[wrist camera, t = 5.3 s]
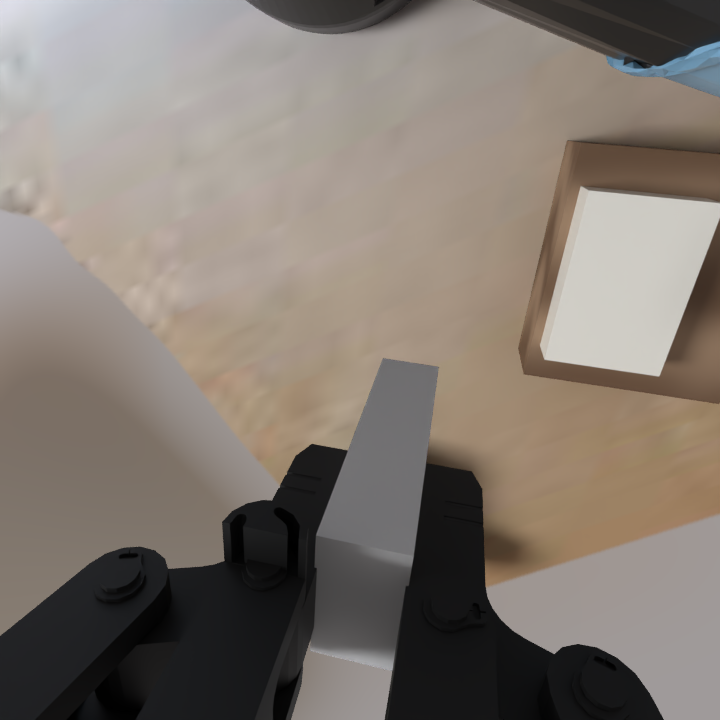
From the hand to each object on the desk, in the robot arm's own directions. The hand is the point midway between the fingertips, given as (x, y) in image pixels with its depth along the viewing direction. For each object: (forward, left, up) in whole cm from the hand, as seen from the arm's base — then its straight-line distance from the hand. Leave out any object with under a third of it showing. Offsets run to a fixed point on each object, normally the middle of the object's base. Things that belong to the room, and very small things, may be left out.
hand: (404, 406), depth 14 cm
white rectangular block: (0, +10, -17) cm, 19 cm away
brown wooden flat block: (0, +12, -21) cm, 24 cm away
